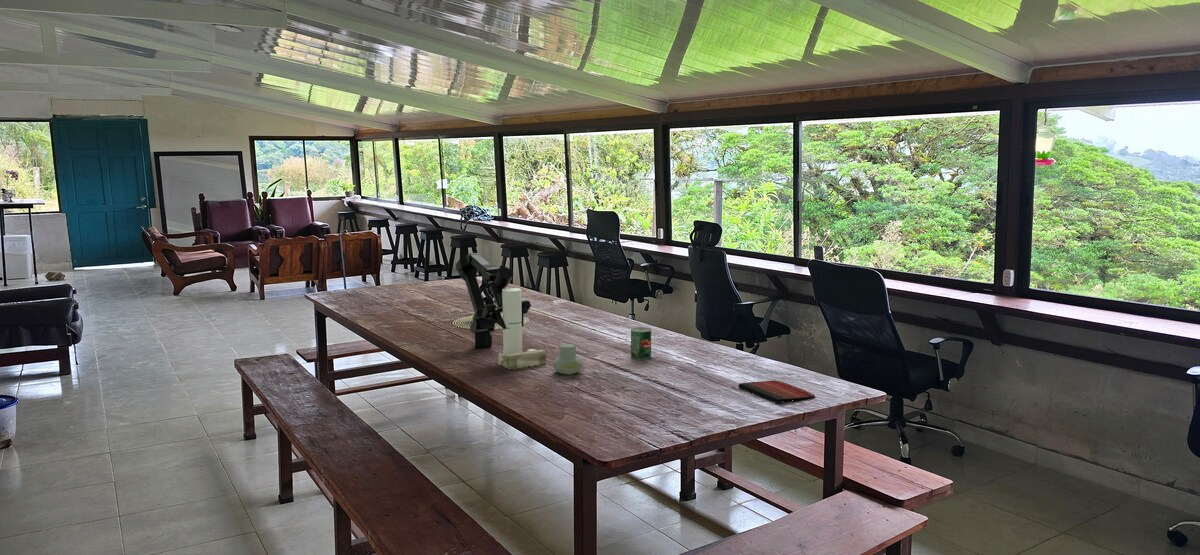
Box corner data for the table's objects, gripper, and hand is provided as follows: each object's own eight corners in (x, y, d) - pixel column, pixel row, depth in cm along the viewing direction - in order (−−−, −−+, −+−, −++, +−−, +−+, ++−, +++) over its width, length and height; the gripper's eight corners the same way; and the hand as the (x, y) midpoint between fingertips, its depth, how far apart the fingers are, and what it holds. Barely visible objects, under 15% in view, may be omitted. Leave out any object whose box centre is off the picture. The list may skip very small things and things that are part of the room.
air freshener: (555, 376, 290) (555, 349, 289) (550, 371, 298) (550, 344, 297) (585, 374, 293) (585, 347, 292) (579, 368, 301) (579, 342, 300)
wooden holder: (498, 364, 308) (498, 351, 307) (533, 358, 316) (533, 346, 315) (510, 369, 300) (509, 356, 299) (545, 364, 308) (545, 351, 307)
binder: (778, 398, 256) (738, 382, 274) (778, 406, 256) (737, 389, 274) (818, 394, 263) (776, 378, 281) (817, 401, 263) (776, 385, 282)
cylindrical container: (521, 356, 310) (520, 291, 306) (502, 356, 311) (501, 291, 306) (523, 351, 317) (522, 288, 313) (504, 351, 318) (503, 287, 314)
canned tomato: (649, 360, 312) (649, 331, 311) (629, 359, 314) (629, 331, 312) (652, 355, 320) (652, 327, 319) (632, 354, 322) (632, 326, 320)
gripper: (484, 284, 308) (498, 318, 300) (528, 279, 318) (542, 312, 311) (476, 301, 316) (489, 335, 308) (519, 296, 326) (533, 329, 318)
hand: (514, 327), depth 311 cm, fingers closed on cylindrical container, 7 cm apart
